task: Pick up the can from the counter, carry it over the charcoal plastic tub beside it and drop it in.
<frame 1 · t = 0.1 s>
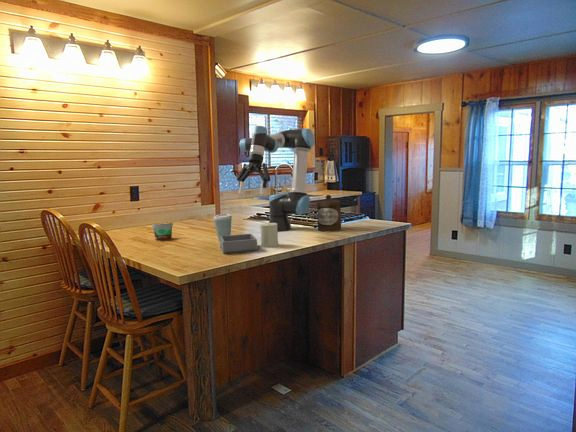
hand: (251, 194, 215), 28 cm above the countertop, tool tilted 20°, fingers open, 13 cm apart
food container: (164, 240, 247), on the countertop
can: (269, 245, 220), on the countertop
tub: (238, 249, 214), on the countertop
disposable coffee cup: (224, 240, 237), on the countertop
wooden container: (329, 229, 260), on the countertop
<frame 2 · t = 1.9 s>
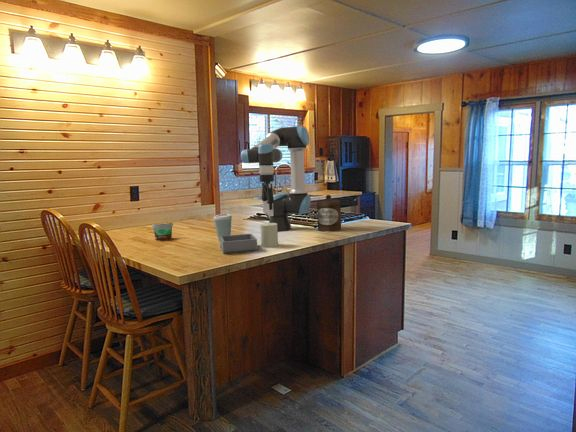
hand: (268, 214, 217), 17 cm above the countertop, tool pointing down, fingers open, 13 cm apart
nothing on the countertop moved.
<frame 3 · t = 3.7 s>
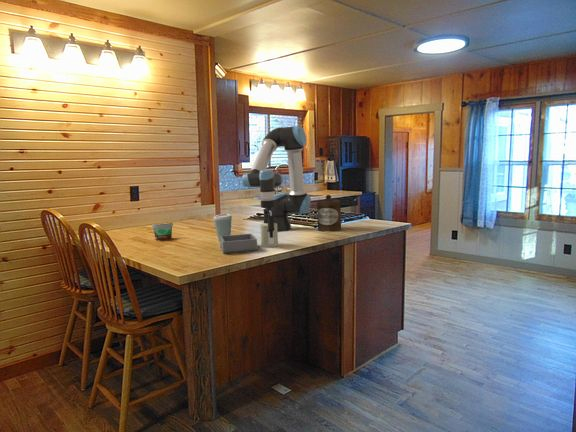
hand: (269, 241, 219), 2 cm above the countertop, tool pointing down, fingers closed on can, 9 cm apart
can: (269, 245, 220), on the countertop, touching gripper
everything else where it was.
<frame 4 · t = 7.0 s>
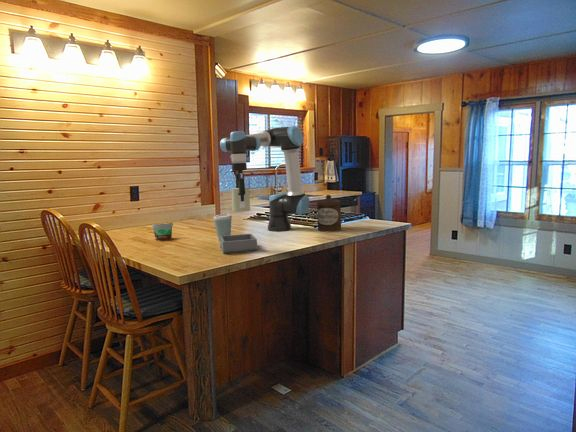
hand: (241, 206, 211), 22 cm above the countertop, tool pointing down, fingers closed on can, 9 cm apart
can: (241, 211, 212), point 20 cm above the countertop, touching gripper
everything else where it was.
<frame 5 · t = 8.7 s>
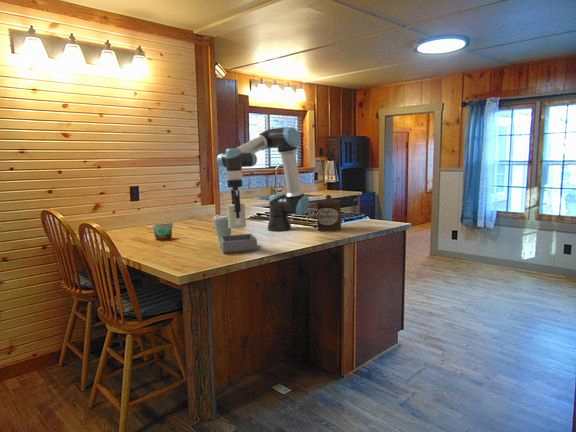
hand: (236, 223, 212), 14 cm above the countertop, tool pointing down, fingers closed on can, 9 cm apart
can: (237, 227, 212), point 11 cm above the countertop, touching gripper
everything else where it was.
when the fingers open (9 cm above the countertop, at t = 10.4 s): can drops 6 cm, point 1 cm above the countertop.
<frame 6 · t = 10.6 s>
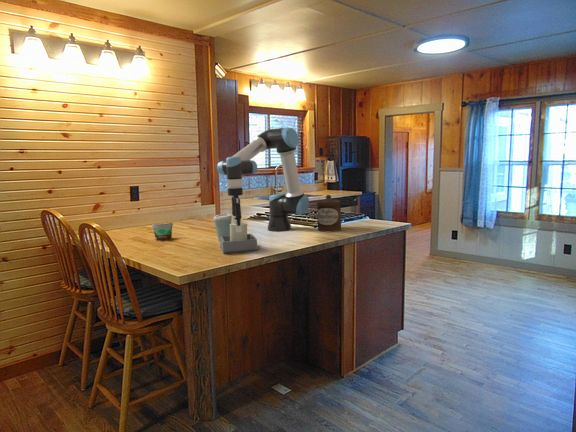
hand: (237, 230, 212), 10 cm above the countertop, tool pointing down, fingers open, 11 cm apart
can: (238, 246, 214), point 1 cm above the countertop, touching gripper
everything else where it was.
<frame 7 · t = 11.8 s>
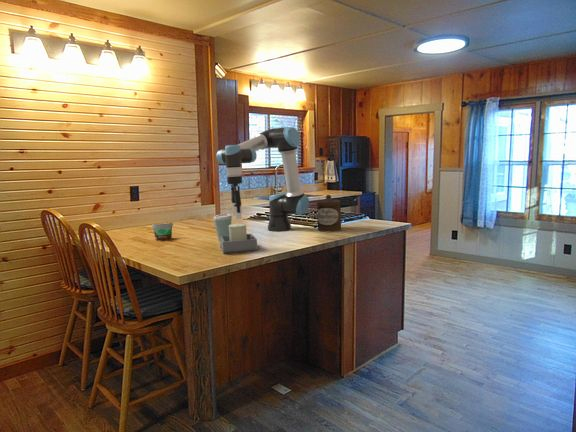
hand: (237, 217, 212), 17 cm above the countertop, tool pointing down, fingers open, 13 cm apart
can: (238, 247, 214), point 1 cm above the countertop, touching tub
everything else where it was.
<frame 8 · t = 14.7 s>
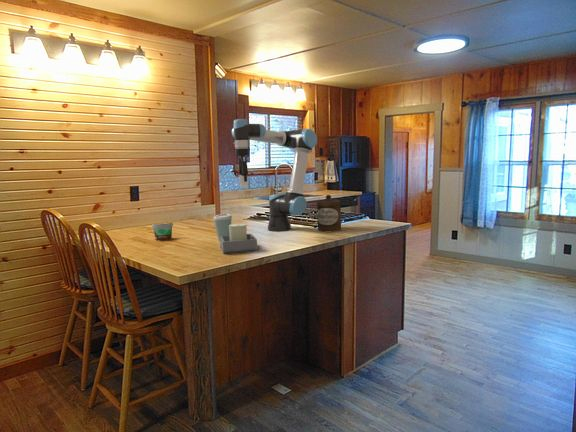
hand: (243, 187, 228), 31 cm above the countertop, tool pointing down, fingers open, 13 cm apart
nothing on the countertop moved.
at the end: can inside the target area on the tub (0.4 cm from its centre), point 0.9 cm above the tub's base; the gripper is holding nothing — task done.
